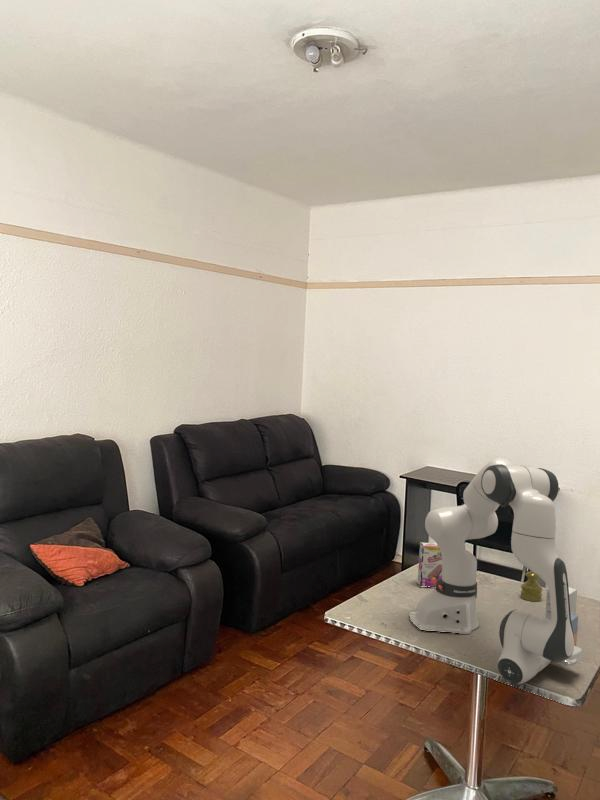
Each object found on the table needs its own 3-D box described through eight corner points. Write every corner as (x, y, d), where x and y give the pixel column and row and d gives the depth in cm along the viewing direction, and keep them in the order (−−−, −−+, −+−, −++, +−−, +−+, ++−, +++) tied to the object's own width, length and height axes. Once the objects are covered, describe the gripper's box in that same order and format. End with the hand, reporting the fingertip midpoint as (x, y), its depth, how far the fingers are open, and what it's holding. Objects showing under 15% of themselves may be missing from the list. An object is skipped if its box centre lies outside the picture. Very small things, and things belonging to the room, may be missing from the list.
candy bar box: (420, 588, 241) (422, 545, 240) (417, 583, 246) (419, 541, 245) (449, 588, 242) (451, 546, 240) (445, 583, 247) (447, 542, 245)
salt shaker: (535, 594, 239) (537, 568, 238) (545, 601, 231) (547, 575, 231) (516, 594, 238) (518, 568, 237) (526, 602, 230) (528, 575, 230)
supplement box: (553, 619, 216) (555, 583, 215) (575, 626, 211) (578, 589, 210) (543, 625, 211) (546, 588, 210) (566, 632, 205) (568, 594, 205)
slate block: (570, 637, 191) (571, 621, 190) (552, 631, 194) (553, 615, 194) (577, 631, 195) (578, 615, 194) (558, 626, 198) (560, 610, 198)
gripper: (573, 654, 171) (591, 639, 181) (501, 630, 185) (522, 616, 195) (571, 677, 172) (589, 660, 182) (500, 651, 186) (520, 636, 196)
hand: (554, 637), depth 188 cm, fingers closed on walnut block, 4 cm apart
